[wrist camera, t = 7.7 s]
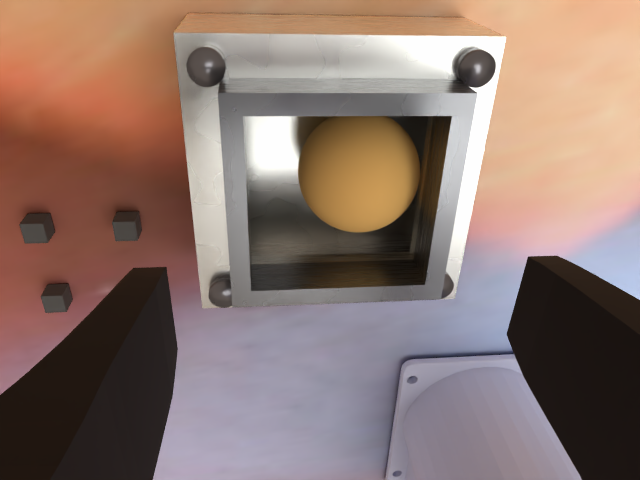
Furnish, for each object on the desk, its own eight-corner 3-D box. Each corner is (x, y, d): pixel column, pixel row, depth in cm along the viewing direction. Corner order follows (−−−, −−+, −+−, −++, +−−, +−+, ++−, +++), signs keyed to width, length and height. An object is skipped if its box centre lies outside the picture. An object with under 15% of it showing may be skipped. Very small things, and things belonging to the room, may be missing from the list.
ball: (386, 121, 20) (465, 155, 17) (338, 215, 21) (406, 263, 18) (309, 76, 17) (387, 108, 14) (257, 187, 18) (321, 238, 15)
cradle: (152, 296, 22) (149, 308, 21) (52, 300, 22) (45, 312, 21) (138, 211, 20) (134, 221, 19) (27, 213, 20) (19, 224, 19)
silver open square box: (428, 248, 22) (468, 325, 18) (209, 254, 21) (198, 337, 17) (464, 17, 18) (530, 47, 13) (188, 13, 17) (164, 44, 13)
